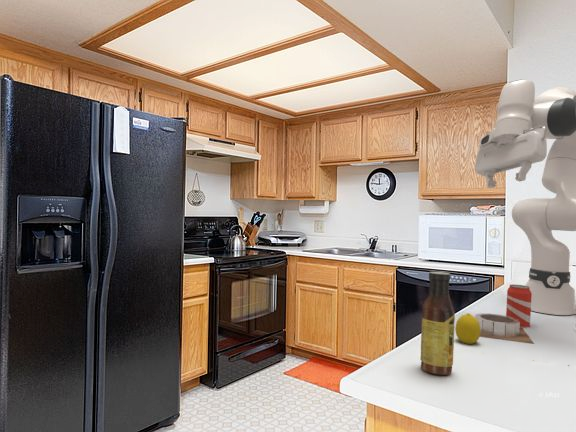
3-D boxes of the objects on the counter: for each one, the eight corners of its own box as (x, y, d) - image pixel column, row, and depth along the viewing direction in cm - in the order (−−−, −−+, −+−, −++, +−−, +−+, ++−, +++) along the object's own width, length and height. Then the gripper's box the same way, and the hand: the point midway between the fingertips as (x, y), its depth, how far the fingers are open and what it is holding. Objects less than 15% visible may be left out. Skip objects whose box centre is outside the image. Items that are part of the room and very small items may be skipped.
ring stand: (464, 324, 119) (464, 320, 119) (522, 331, 114) (522, 328, 114) (467, 338, 105) (467, 334, 105) (534, 347, 100) (534, 343, 100)
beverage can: (533, 331, 115) (536, 288, 114) (509, 329, 116) (511, 287, 116) (525, 325, 121) (527, 285, 120) (502, 323, 122) (504, 283, 122)
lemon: (469, 351, 95) (470, 317, 95) (449, 343, 100) (451, 311, 100) (484, 348, 98) (486, 315, 98) (465, 341, 103) (466, 309, 103)
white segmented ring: (473, 323, 116) (474, 311, 116) (514, 329, 112) (515, 316, 112) (476, 333, 106) (477, 320, 106) (521, 339, 103) (522, 325, 103)
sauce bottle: (455, 378, 79) (460, 276, 79) (421, 374, 80) (426, 274, 80) (449, 366, 85) (453, 271, 85) (418, 362, 87) (422, 269, 86)
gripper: (556, 127, 101) (550, 179, 98) (491, 149, 120) (485, 193, 117) (537, 118, 99) (530, 171, 96) (474, 142, 118) (467, 187, 116)
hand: (504, 184), depth 107 cm, fingers open, 8 cm apart
